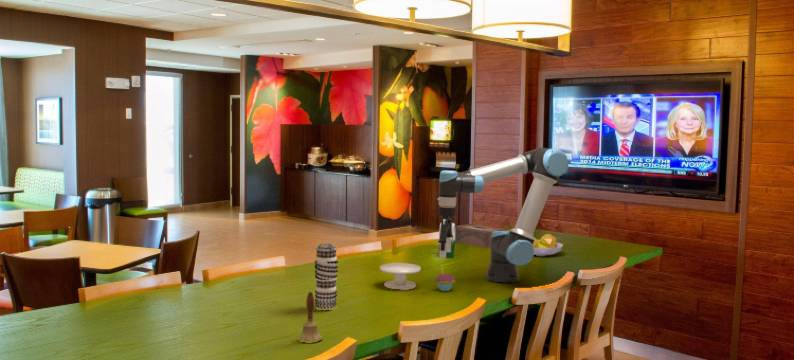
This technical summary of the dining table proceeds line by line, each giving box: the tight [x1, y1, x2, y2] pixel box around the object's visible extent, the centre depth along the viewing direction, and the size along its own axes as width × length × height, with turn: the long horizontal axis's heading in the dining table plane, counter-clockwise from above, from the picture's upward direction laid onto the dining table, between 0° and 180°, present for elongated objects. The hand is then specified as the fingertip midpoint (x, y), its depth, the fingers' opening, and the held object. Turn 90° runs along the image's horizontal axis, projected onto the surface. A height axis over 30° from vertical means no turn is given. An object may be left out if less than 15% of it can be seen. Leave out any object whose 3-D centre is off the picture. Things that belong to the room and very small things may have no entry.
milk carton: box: [438, 222, 456, 259], centre depth 358 cm, size 9×9×20 cm
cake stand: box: [379, 262, 422, 291], centre depth 293 cm, size 18×18×8 cm
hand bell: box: [298, 291, 323, 341], centre depth 220 cm, size 8×8×16 cm
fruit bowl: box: [533, 233, 563, 257], centre depth 373 cm, size 28×27×11 cm
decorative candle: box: [314, 243, 339, 309], centre depth 256 cm, size 9×9×25 cm
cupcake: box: [435, 263, 456, 292], centre depth 288 cm, size 9×8×12 cm
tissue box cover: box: [455, 223, 506, 249], centre depth 399 cm, size 26×14×10 cm, turn 46°
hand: (445, 255), depth 287 cm, fingers open, 13 cm apart
